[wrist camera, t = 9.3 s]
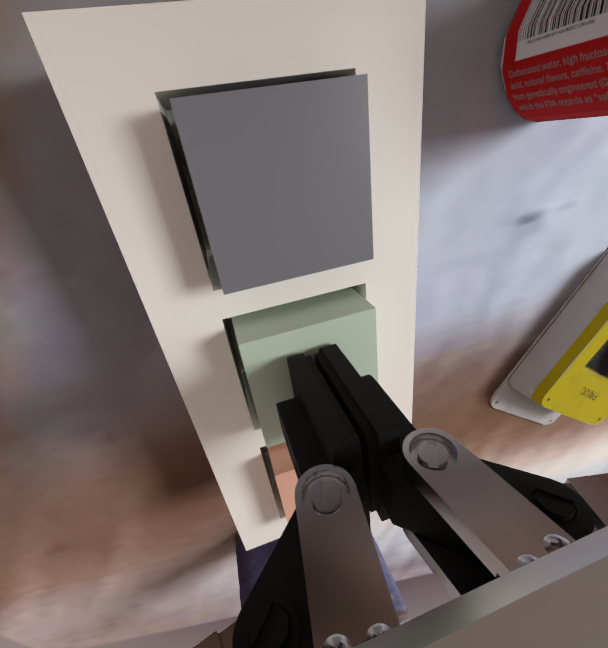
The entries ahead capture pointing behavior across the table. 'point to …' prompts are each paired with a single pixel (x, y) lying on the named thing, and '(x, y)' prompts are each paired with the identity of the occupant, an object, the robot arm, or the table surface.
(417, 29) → the key block
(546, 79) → the soda can
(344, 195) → the charcoal key
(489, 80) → the table surface
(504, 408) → the emergency button
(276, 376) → the sage key
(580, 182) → the table surface
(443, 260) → the table surface
